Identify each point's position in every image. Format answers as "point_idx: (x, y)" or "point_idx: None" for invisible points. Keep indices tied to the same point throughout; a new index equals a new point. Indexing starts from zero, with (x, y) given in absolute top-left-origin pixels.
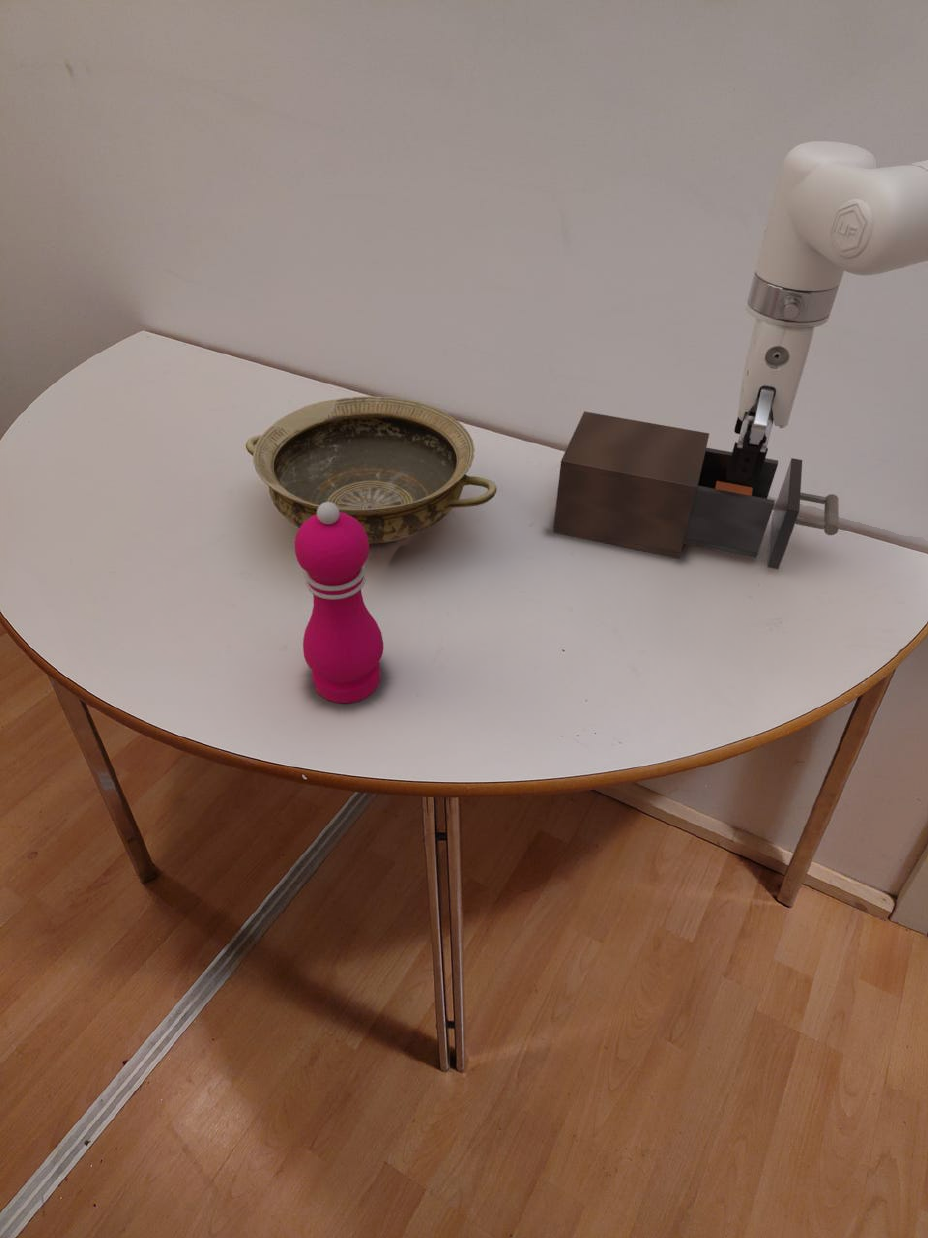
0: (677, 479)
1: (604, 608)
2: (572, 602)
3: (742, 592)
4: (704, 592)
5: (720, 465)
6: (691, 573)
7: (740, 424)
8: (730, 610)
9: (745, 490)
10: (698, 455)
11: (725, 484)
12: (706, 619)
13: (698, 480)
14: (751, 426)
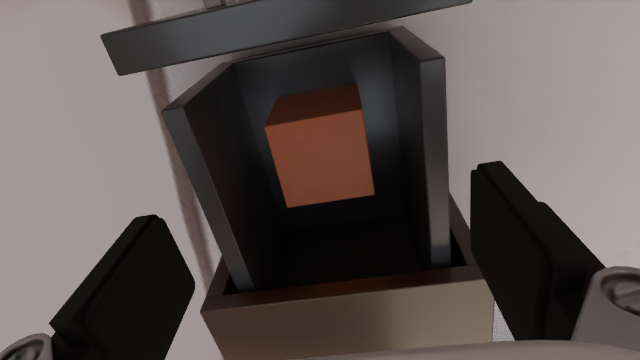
0: (476, 318)
1: (610, 218)
2: (604, 257)
3: (497, 19)
4: (521, 90)
5: (247, 226)
6: (468, 128)
7: (181, 305)
8: (568, 25)
9: (289, 139)
10: (330, 307)
11: (291, 187)
12: (609, 62)
13: (459, 281)
14: (164, 276)
